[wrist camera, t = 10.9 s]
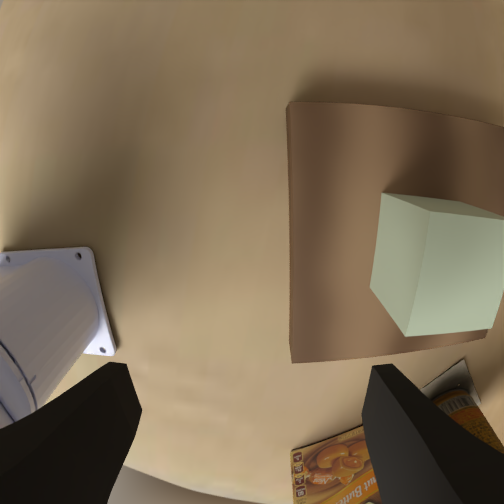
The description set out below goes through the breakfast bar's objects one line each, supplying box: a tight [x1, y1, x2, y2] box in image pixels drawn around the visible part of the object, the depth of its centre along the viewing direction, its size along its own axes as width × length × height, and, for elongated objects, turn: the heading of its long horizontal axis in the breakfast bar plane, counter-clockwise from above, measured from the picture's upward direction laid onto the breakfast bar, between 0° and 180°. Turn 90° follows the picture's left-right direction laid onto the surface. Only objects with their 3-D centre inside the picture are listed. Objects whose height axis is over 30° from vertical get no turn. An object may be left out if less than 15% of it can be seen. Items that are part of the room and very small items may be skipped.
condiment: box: [420, 359, 504, 454], centre depth 16 cm, size 7×8×12 cm
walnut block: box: [286, 102, 504, 363], centre depth 17 cm, size 14×14×3 cm
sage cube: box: [370, 193, 504, 337], centre depth 13 cm, size 5×5×5 cm
